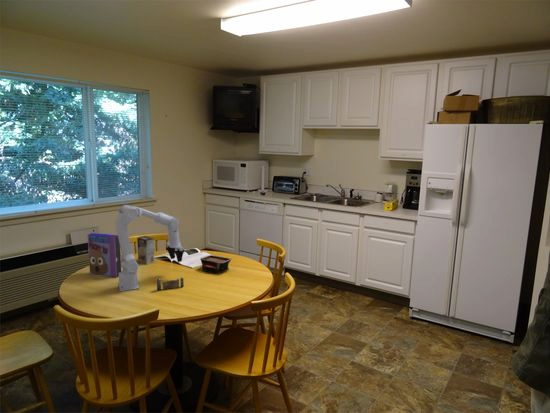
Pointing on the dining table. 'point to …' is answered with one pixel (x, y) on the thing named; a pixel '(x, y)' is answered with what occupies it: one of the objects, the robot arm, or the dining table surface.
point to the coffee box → (145, 249)
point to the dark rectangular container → (214, 263)
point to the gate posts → (160, 283)
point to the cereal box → (104, 255)
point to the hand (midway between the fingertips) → (176, 260)
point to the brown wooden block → (170, 284)
